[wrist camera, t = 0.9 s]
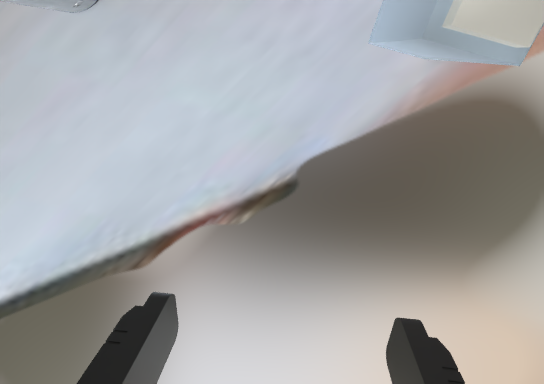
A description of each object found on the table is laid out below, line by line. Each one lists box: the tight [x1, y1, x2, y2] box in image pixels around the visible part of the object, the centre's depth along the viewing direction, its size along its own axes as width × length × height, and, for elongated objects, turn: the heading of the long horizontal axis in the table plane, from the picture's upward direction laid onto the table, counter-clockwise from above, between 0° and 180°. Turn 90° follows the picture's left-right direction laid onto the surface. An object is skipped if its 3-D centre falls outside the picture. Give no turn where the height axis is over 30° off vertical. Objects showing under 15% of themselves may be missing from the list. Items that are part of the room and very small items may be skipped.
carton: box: [369, 0, 544, 66], centre depth 22 cm, size 6×6×16 cm
